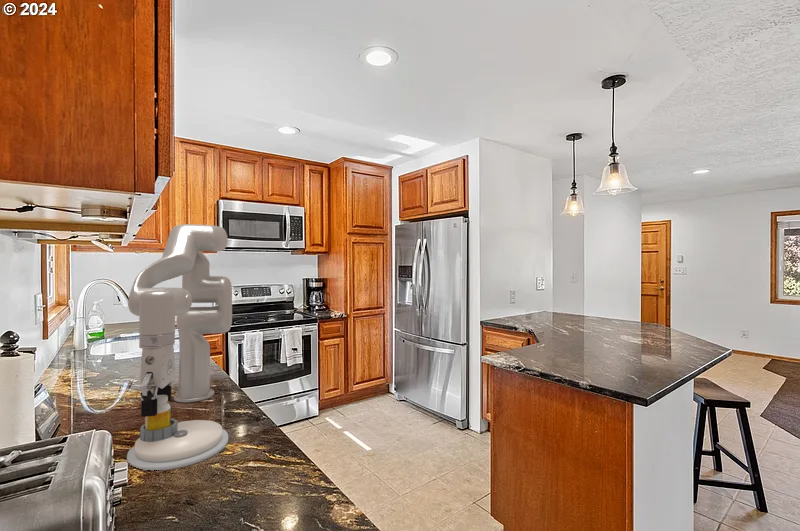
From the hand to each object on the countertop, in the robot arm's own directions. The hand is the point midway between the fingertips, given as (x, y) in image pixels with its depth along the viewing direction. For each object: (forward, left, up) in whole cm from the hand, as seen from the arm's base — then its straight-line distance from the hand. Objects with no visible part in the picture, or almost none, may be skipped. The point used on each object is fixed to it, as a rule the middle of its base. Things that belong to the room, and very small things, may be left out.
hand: (157, 408), depth 95 cm
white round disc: (+5, +3, -9) cm, 11 cm away
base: (+5, +3, -10) cm, 12 cm away
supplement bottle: (0, 0, -7) cm, 7 cm away
